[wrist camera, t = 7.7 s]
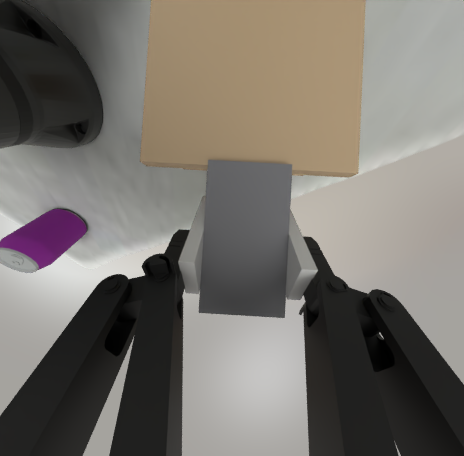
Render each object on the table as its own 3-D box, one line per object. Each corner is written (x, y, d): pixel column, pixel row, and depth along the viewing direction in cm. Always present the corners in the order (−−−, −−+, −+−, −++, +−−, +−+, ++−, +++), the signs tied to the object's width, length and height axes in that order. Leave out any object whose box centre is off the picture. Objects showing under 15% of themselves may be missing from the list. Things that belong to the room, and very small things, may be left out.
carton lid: (137, 297, 11) (121, 308, 10) (158, -2, 12) (146, -40, 10) (343, 309, 11) (362, 322, 10) (356, 7, 12) (376, -29, 10)
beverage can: (85, 238, 41) (40, 280, 32) (49, 221, 38) (-13, 262, 29) (92, 220, 37) (43, 261, 28) (53, 200, 34) (-17, 238, 25)
